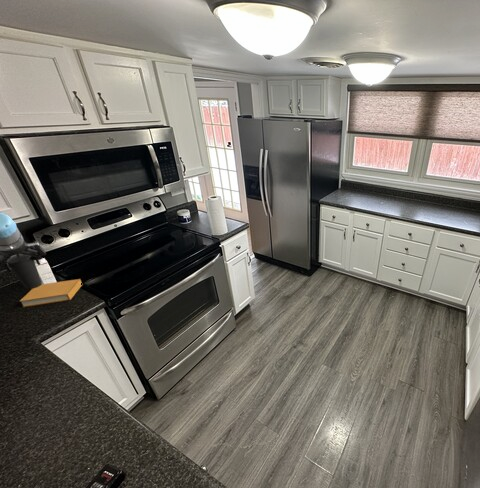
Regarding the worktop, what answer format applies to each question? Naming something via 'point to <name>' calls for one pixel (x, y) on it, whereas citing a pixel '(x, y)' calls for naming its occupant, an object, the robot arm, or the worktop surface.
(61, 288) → the book
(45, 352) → the worktop surface
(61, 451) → the worktop surface
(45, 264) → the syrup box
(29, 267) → the drinking cup
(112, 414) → the worktop surface
